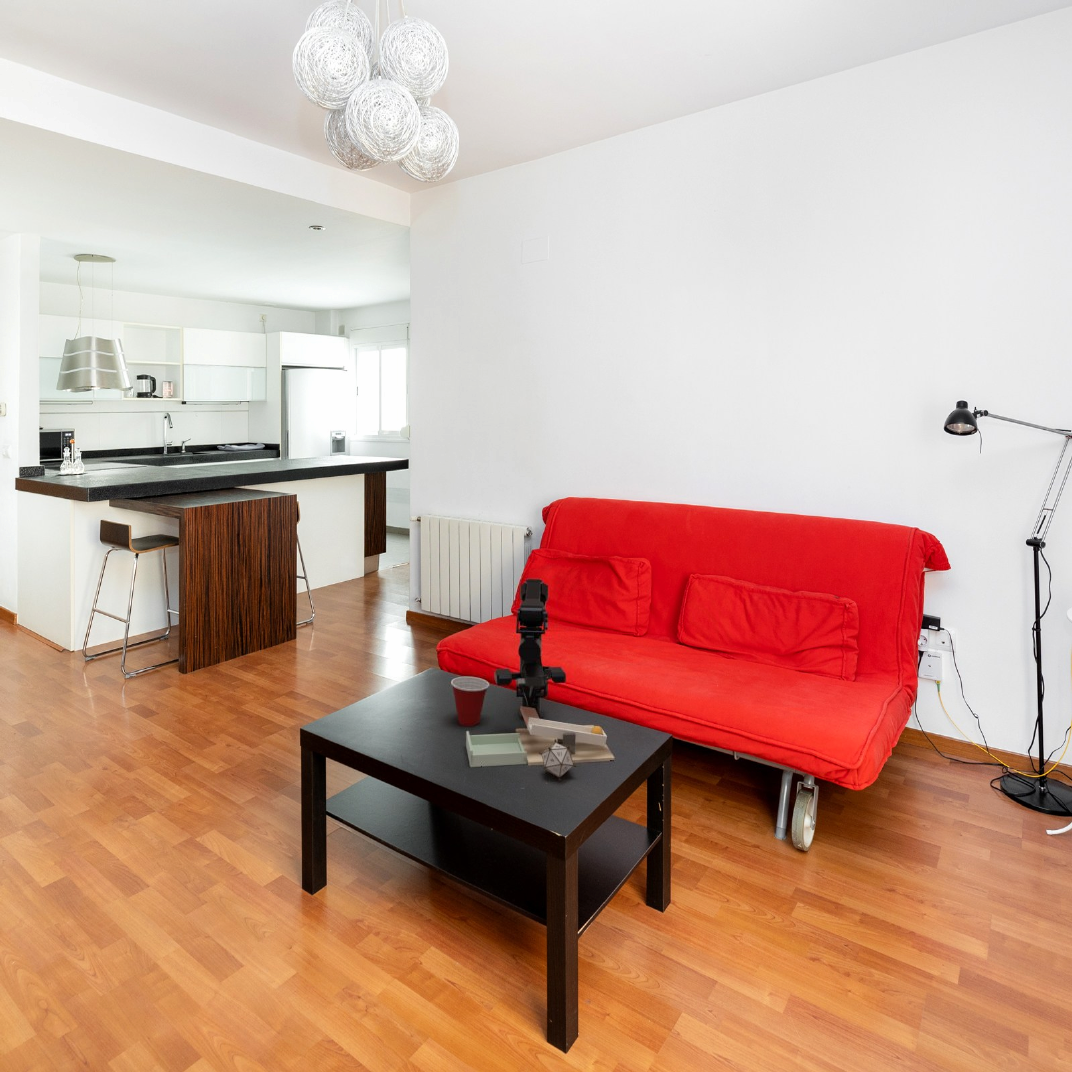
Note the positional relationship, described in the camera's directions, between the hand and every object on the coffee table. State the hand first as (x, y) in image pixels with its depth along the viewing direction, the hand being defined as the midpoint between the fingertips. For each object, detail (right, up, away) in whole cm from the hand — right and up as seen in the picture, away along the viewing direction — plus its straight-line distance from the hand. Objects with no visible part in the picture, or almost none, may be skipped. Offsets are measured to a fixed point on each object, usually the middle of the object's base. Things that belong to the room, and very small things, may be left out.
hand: (529, 706), depth 197 cm
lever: (+8, -5, -4) cm, 10 cm away
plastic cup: (-17, -7, +9) cm, 20 cm away
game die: (+7, -12, -22) cm, 26 cm away
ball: (+18, -5, -8) cm, 20 cm away
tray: (-9, -10, -12) cm, 18 cm away
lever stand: (+9, -9, -5) cm, 14 cm away
